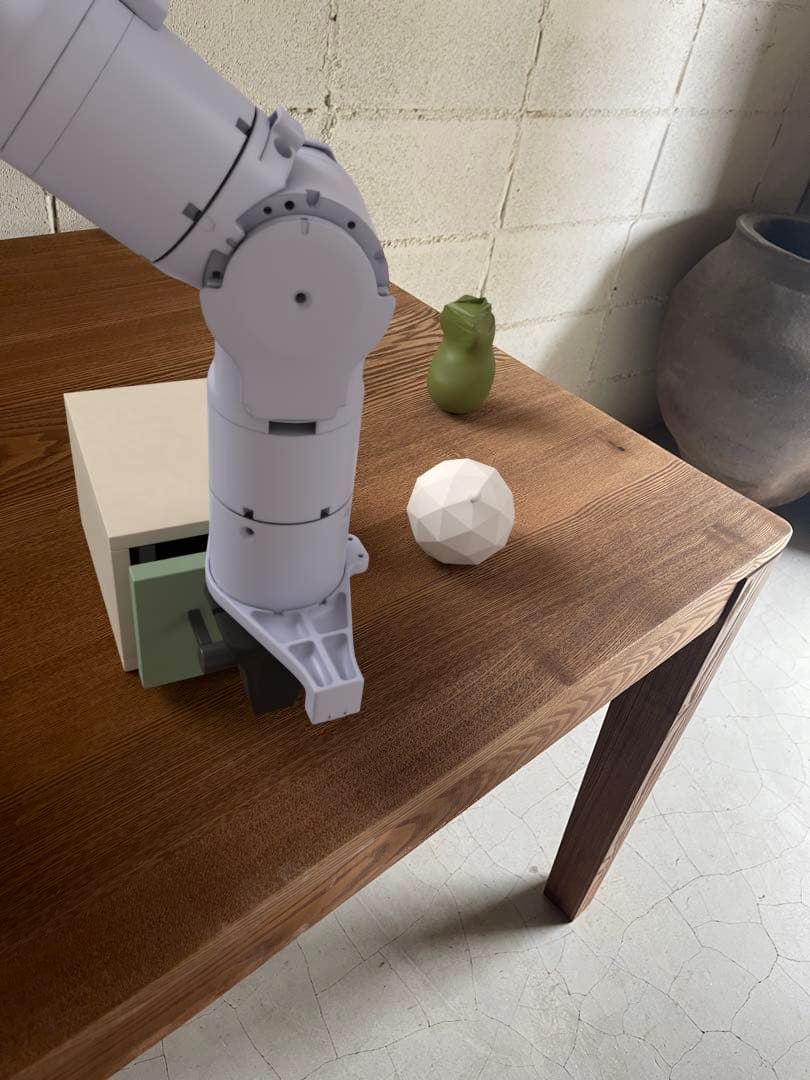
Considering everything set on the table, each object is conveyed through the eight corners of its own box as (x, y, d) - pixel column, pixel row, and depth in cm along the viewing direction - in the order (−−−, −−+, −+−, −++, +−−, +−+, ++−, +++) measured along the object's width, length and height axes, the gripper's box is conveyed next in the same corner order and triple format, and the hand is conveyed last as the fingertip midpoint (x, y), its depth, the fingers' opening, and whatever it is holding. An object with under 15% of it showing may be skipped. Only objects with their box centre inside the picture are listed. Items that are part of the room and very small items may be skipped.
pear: (497, 414, 74) (522, 306, 68) (454, 431, 71) (476, 320, 65) (452, 385, 77) (472, 279, 71) (409, 401, 74) (426, 291, 68)
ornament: (519, 538, 62) (554, 510, 54) (436, 594, 60) (460, 574, 52) (463, 458, 62) (490, 419, 54) (379, 511, 60) (395, 479, 53)
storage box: (323, 625, 53) (335, 498, 46) (124, 672, 48) (108, 537, 42) (254, 493, 62) (256, 372, 55) (81, 522, 57) (63, 393, 51)
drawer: (354, 693, 48) (369, 589, 43) (160, 747, 43) (151, 639, 38) (261, 514, 58) (264, 415, 53) (99, 543, 54) (86, 438, 49)
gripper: (454, 579, 31) (405, 795, 40) (313, 378, 41) (298, 588, 49) (264, 622, 28) (256, 845, 37) (161, 395, 38) (174, 614, 46)
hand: (271, 700), depth 43 cm, fingers closed
